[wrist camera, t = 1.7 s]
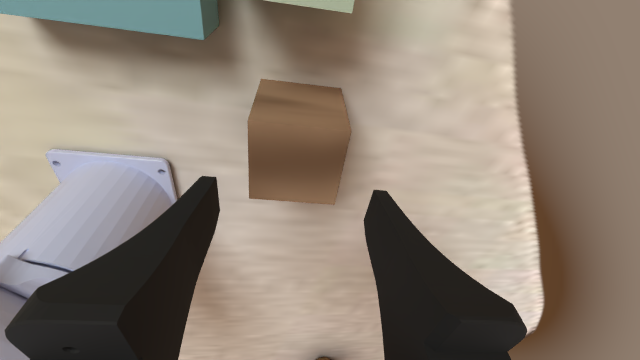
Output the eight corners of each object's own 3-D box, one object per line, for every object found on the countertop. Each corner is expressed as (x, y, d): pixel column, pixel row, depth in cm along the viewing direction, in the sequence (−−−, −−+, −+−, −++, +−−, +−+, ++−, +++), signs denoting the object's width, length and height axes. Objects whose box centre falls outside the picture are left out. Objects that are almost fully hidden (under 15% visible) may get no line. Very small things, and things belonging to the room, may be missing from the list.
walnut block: (328, 153, 22) (334, 204, 18) (260, 146, 21) (249, 198, 17) (340, 87, 19) (351, 131, 14) (261, 78, 18) (247, 120, 14)
